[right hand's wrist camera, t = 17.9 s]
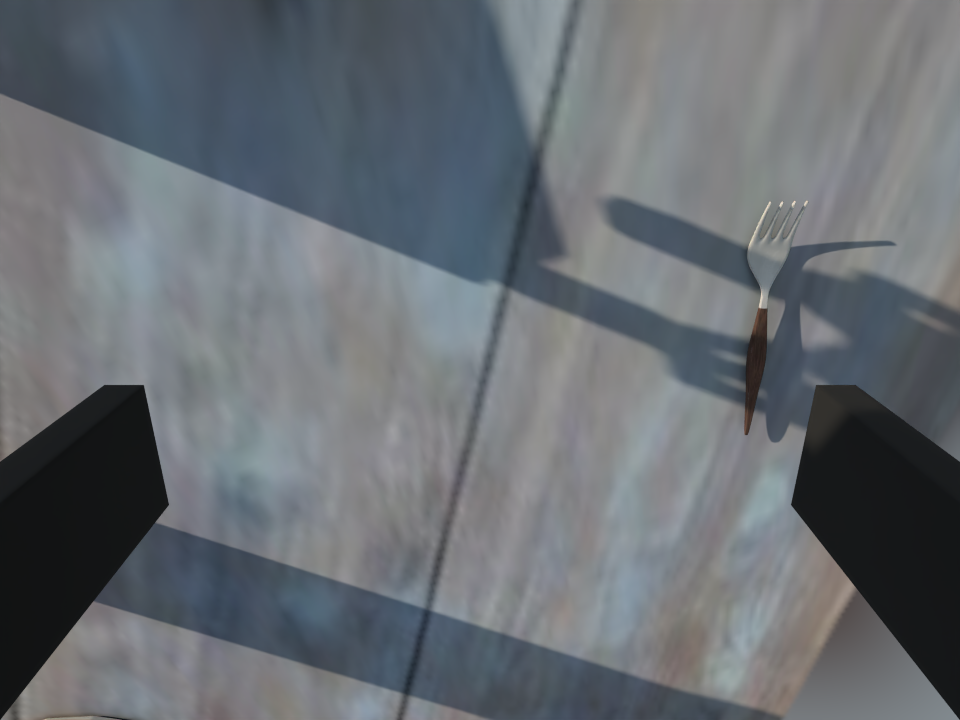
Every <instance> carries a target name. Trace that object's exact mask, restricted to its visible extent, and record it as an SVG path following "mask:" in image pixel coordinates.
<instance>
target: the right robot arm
mask: <svg viewBox="0 0 960 720" xmlns="http://www.w3.org/2000/svg"><path fill="white" fill-rule="evenodd" d="M168 505H169V503H168V498H167V494H166V489H165V484H164V479H163V474H162V470H161V465H160V460H159V455H158V451H157V446H156V441H155V436H154V432H153V427H152V422H151V417H150V413H149V408H148V403H147V398H146V394H145V389H144V385H104V386H103V387H101V388H100V389H99V390H97V391H96V392H94V393H93V394H92V395H90V396H89V397H88V398H86V399H85V400H84V401H82V402H81V403H80V404H78V405H77V406H75V407H74V408H73V409H71V410H70V411H69V412H67V413H66V414H65V415H63V416H62V417H61V418H59V419H58V420H56V421H55V422H54V423H52V424H51V425H50V426H48V427H47V428H46V429H44V430H43V431H42V432H40V433H39V434H37V435H36V436H35V437H33V438H32V439H31V440H29V441H28V442H27V443H25V444H24V445H23V446H21V447H20V448H18V449H17V450H16V451H14V452H13V453H12V454H10V455H9V456H8V457H6V458H5V459H4V460H2V461H1V462H0V719H1V718H2V717H3V716H4V714H5V713H6V712H7V710H8V709H9V708H10V707H11V705H12V704H13V703H14V702H15V700H16V699H17V698H18V696H19V695H20V694H21V693H22V691H23V690H24V689H25V688H26V686H27V685H28V684H29V682H30V681H31V680H32V679H33V677H34V676H35V675H36V674H37V672H38V671H39V670H40V668H41V667H42V666H43V665H44V663H45V662H46V661H47V660H48V658H49V657H50V656H51V654H52V653H53V652H54V651H55V649H56V648H57V647H58V646H59V644H60V643H61V642H62V640H63V639H64V638H65V637H66V635H67V634H68V633H69V632H70V630H71V629H72V628H73V626H74V625H75V624H76V623H77V621H78V620H79V619H80V617H81V616H82V615H83V614H84V612H85V611H86V610H87V609H88V607H89V606H90V605H91V603H92V602H93V601H94V600H95V598H96V597H97V596H98V595H99V593H100V592H101V591H102V589H103V588H104V587H105V586H106V584H107V583H108V582H109V581H110V579H111V578H112V577H113V575H114V574H115V573H116V572H117V570H118V569H119V568H120V567H121V565H122V564H123V563H124V561H125V560H126V559H127V558H128V556H129V555H130V554H131V553H132V551H133V550H134V549H135V547H136V546H137V545H138V544H139V542H140V541H141V540H142V538H143V537H144V536H145V535H146V533H147V532H148V531H149V530H150V528H151V527H152V526H153V524H154V523H155V522H156V521H157V519H158V518H159V517H160V516H161V514H162V513H163V512H164V510H165V509H166V508H167V507H168ZM791 505H792V507H793V508H794V509H795V510H796V512H797V513H798V514H799V516H800V517H801V518H802V519H803V521H804V522H805V523H806V524H807V526H808V527H809V528H810V530H811V531H812V532H813V533H814V535H815V536H816V537H817V538H818V540H819V541H820V542H821V544H822V545H823V546H824V547H825V549H826V550H827V551H828V553H829V554H830V555H831V556H832V558H833V559H834V560H835V561H836V563H837V564H838V565H839V567H840V568H841V569H842V570H843V572H844V573H845V574H846V575H847V577H848V578H849V579H850V581H851V582H852V583H853V584H854V586H855V587H856V588H857V589H858V591H859V592H860V593H861V595H862V596H863V597H864V598H865V600H866V601H867V602H868V603H869V605H870V606H871V607H872V609H873V610H874V611H875V612H876V614H877V615H878V616H879V617H880V619H881V620H882V621H883V623H884V624H885V625H886V626H887V628H888V629H889V630H890V632H891V633H892V634H893V635H894V637H895V638H896V639H897V640H898V642H899V643H900V644H901V646H902V647H903V648H904V649H905V651H906V652H907V653H908V654H909V656H910V657H911V658H912V660H913V661H914V662H915V663H916V665H917V666H918V667H919V668H920V670H921V671H922V672H923V674H924V675H925V676H926V677H927V679H928V680H929V681H930V682H931V684H932V685H933V686H934V688H935V689H936V690H937V691H938V693H939V694H940V695H941V696H942V698H943V699H944V700H945V701H946V703H947V704H948V705H949V707H950V708H951V709H952V710H953V712H954V713H955V714H956V715H957V717H958V718H959V719H960V462H959V461H958V460H956V459H955V458H954V457H952V456H951V455H950V454H948V453H947V452H946V451H944V450H943V449H942V448H940V447H939V446H937V445H936V444H935V443H933V442H932V441H931V440H929V439H928V438H927V437H925V436H924V435H923V434H921V433H920V432H918V431H917V430H916V429H914V428H913V427H912V426H910V425H909V424H908V423H906V422H905V421H904V420H902V419H901V418H899V417H898V416H897V415H895V414H894V413H893V412H891V411H890V410H889V409H887V408H886V407H885V406H883V405H882V404H880V403H879V402H878V401H876V400H875V399H874V398H872V397H871V396H870V395H868V394H867V393H866V392H864V391H863V390H861V389H860V388H859V387H857V386H856V385H816V389H815V394H814V398H813V403H812V408H811V413H810V417H809V422H808V427H807V432H806V436H805V441H804V446H803V451H802V455H801V460H800V465H799V470H798V474H797V479H796V484H795V489H794V494H793V498H792V503H791Z"/></svg>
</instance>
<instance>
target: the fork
mask: <svg viewBox="0 0 960 720" xmlns="http://www.w3.org/2000/svg"><path fill="white" fill-rule="evenodd" d="M795 203H796V201H794V202H793V204H792V206H791V207H790V209H789V211H788V213H787V215H786V217H785V219H784V220H783V222H782V224H781V226H780V228H779V230H778V232H777V234H776V236H775V237H774V238H771V235H772V231H773V228H774V226H775V223H776V220H777V218H778V215H779V213H780V210H781V208H782V205H783V201H782V202H781V204H780V206H779V208H778V209H777V211H776V213H775V215H774V217H773V219H772V221H771V223H770V225H769V227H768V229H767V231H766V233H765V235H764V237H763V238H761V239H760V232H761V229H762V226H763V224H764V221H765V218H766V215H767V213H768V210H769V207H770V205H771V202H769V204H768V206H767V208H766V210H765V212H764V214H763V216H762V218H761V220H760V222H759V224H758V226H757V228H756V230H755V233H754V235H753V237H752V240H751V242H750V244H749V247H748V251H747V260H748V264H749V267H750V269H751V271H752V273H753V274H754V276H755V278H756V280H757V282H758V284H759V286H760V289H761V300H760V304H759V308H758V312H757V316H756V320H755V324H754V328H753V331H752V335H751V339H750V344H749V348H748V353H747V362H746V402H745V425H744V432H745V435H748V432H749V429H750V425H751V421H752V417H753V412H754V408H755V403H756V399H757V395H758V391H759V387H760V383H761V379H762V375H763V371H764V366H765V360H766V348H767V303H768V294H769V290H770V288H771V285H772V283H773V282H774V280H775V278H776V276H777V275H778V273H779V272H780V270H781V268H782V266H783V265H784V263H785V261H786V259H787V256H788V254H789V251H790V248H791V245H792V241H793V237H794V234H795V232H796V229H797V227H798V224H799V222H800V219H801V217H802V215H803V212H804V210H805V208H806V206H807V204H808V200H807V201H806V202H805V204H804V206H803V207H802V209H801V211H800V213H799V214H798V216H797V218H796V220H795V222H794V224H793V226H792V228H791V230H790V231H789V233H788V235H787V236H786V237H785V238H783V233H784V230H785V227H786V225H787V222H788V220H789V217H790V215H791V212H792V210H793V208H794V205H795Z"/></svg>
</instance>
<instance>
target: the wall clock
mask: <svg viewBox="0 0 960 720" xmlns="http://www.w3.org/2000/svg"><path fill="white" fill-rule="evenodd" d="M44 720H120V719H112V718H105V717H97V716H83V717H65V718H48V719H44Z"/></svg>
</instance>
